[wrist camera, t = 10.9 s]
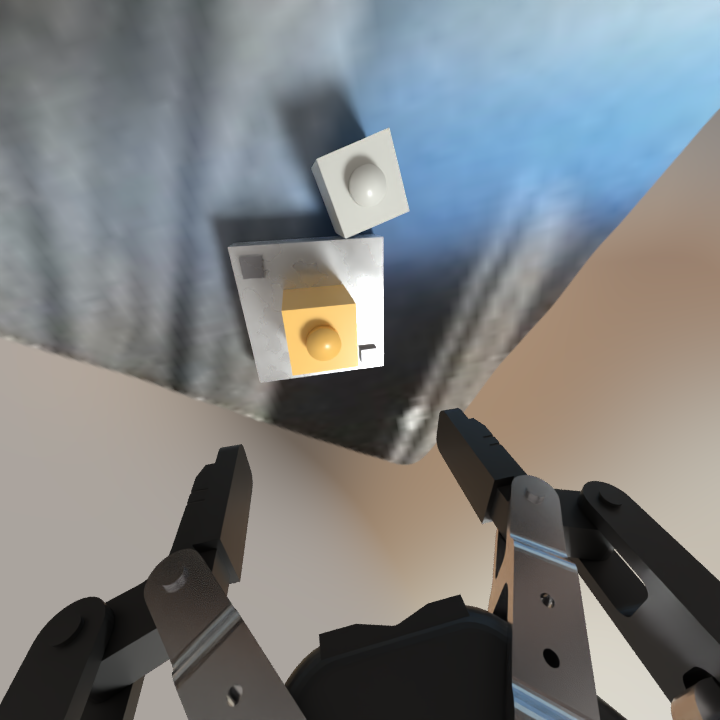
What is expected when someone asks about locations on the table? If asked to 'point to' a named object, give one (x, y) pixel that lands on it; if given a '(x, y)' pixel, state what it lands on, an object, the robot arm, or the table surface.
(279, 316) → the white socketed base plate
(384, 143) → the grey cap
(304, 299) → the yellow knobbed cube
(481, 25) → the table surface
